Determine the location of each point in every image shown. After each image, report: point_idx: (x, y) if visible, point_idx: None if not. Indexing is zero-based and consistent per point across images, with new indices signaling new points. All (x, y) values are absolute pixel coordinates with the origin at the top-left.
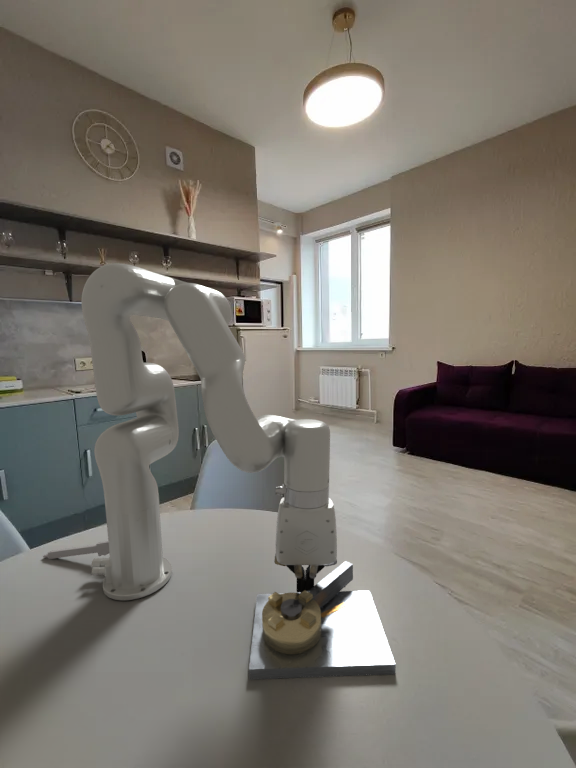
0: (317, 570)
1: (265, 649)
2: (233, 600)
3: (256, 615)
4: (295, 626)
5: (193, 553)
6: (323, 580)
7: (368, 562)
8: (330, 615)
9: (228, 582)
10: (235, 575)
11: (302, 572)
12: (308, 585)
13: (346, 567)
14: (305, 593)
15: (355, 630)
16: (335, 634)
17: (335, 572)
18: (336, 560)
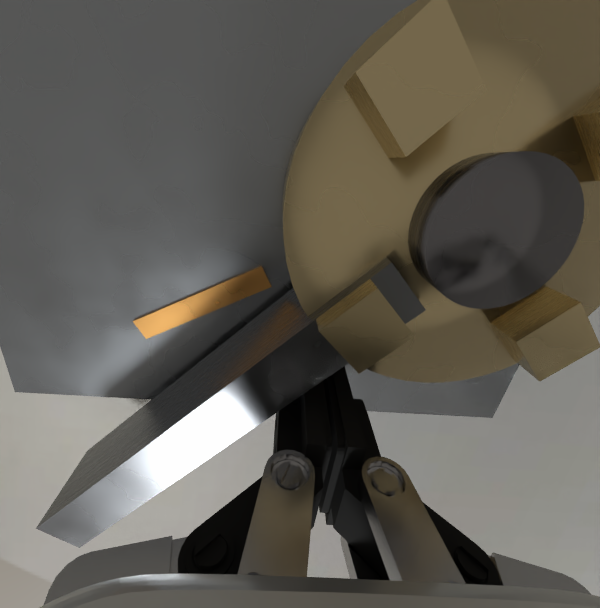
0: (250, 505)
1: None
2: (544, 409)
3: None
4: (504, 78)
5: (582, 569)
6: (220, 439)
7: (39, 518)
8: (220, 273)
9: (531, 474)
10: (501, 496)
11: (356, 496)
12: (316, 414)
13: (74, 510)
14: (364, 345)
15: (99, 152)
16: (214, 145)
17: (141, 485)
18: (48, 602)
